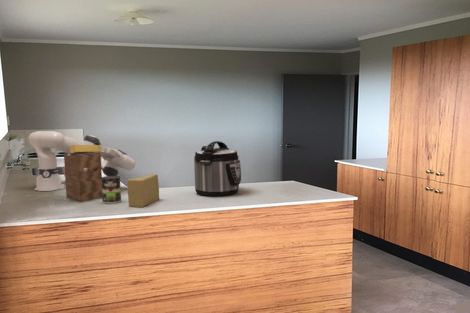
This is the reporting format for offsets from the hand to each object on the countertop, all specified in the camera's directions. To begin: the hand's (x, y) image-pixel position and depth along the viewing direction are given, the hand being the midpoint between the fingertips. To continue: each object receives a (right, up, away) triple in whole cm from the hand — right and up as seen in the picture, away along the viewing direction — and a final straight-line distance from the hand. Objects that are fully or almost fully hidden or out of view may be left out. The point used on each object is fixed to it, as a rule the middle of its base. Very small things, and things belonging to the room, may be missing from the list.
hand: (94, 146), depth 269 cm
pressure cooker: (+75, -29, +1) cm, 80 cm away
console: (-3, -31, -7) cm, 32 cm away
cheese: (+37, -32, -24) cm, 54 cm away
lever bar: (-3, -4, -6) cm, 7 cm away
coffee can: (+16, -32, -19) cm, 40 cm away
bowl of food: (-31, -25, +56) cm, 69 cm away
